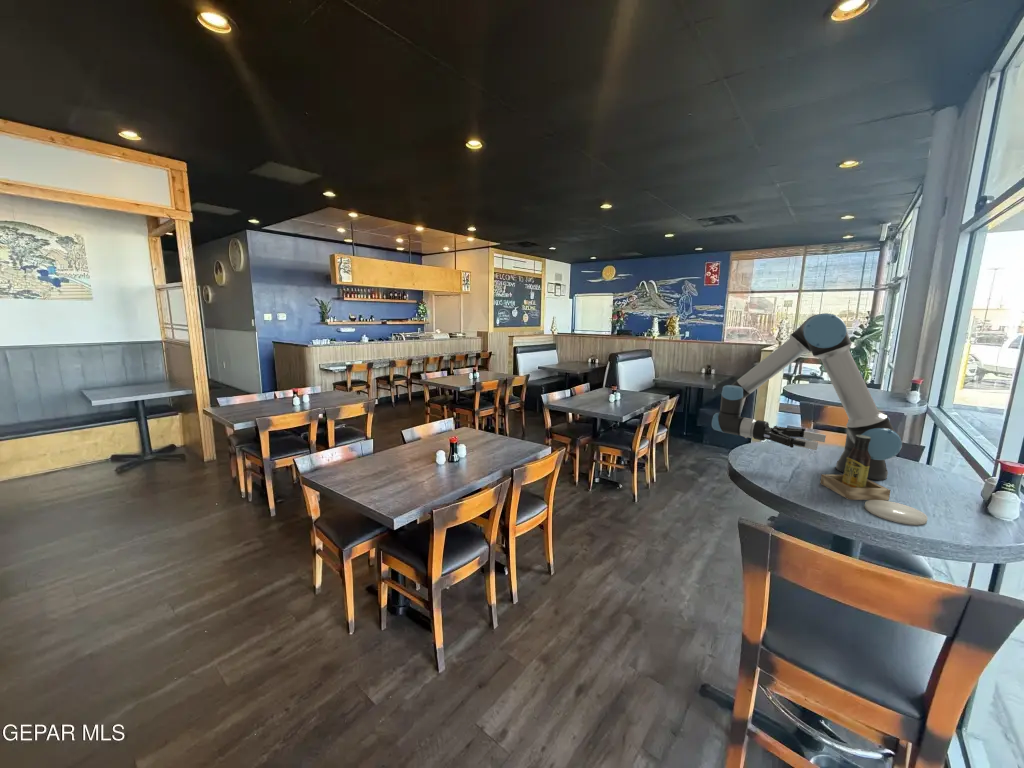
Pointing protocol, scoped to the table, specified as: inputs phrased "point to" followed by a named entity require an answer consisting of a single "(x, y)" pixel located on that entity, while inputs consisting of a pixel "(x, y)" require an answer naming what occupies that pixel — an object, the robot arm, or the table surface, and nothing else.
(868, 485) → the tray
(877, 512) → the saucer
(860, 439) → the sauce bottle
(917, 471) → the table surface
